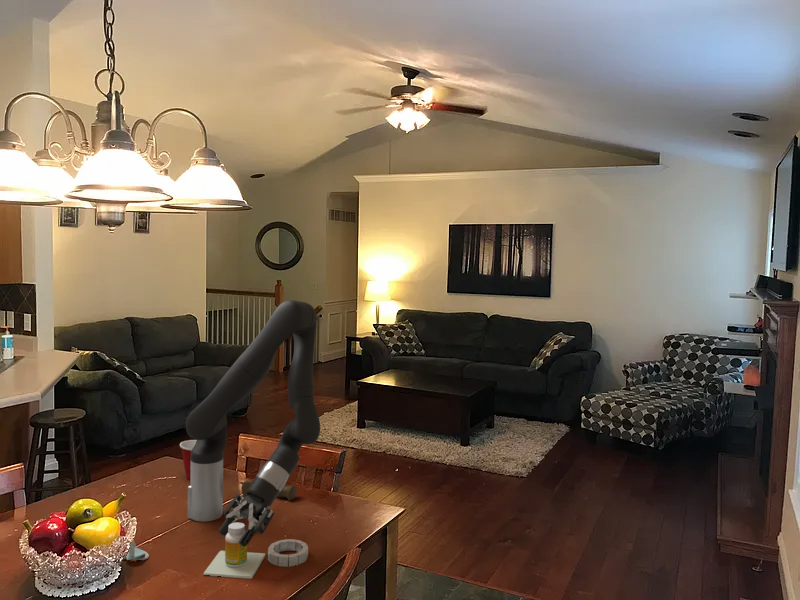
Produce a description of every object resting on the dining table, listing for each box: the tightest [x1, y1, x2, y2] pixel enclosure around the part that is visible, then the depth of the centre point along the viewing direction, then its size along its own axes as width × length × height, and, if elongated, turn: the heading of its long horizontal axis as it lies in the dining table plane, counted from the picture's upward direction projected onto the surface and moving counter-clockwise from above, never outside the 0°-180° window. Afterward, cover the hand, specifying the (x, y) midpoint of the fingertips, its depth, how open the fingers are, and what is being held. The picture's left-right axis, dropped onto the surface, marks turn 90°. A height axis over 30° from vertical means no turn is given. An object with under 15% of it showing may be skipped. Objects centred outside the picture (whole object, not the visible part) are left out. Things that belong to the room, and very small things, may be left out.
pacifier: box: [125, 538, 149, 561], centre depth 167 cm, size 7×6×6 cm
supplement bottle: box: [224, 521, 248, 567], centre depth 165 cm, size 5×5×10 cm
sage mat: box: [203, 550, 266, 580], centre depth 165 cm, size 12×12×1 cm
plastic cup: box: [179, 439, 197, 481], centre depth 224 cm, size 11×11×12 cm
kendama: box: [239, 480, 298, 501], centre depth 211 cm, size 6×10×20 cm
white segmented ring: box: [267, 538, 309, 568], centre depth 170 cm, size 10×10×2 cm
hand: (231, 539), depth 163 cm, fingers open, 8 cm apart
